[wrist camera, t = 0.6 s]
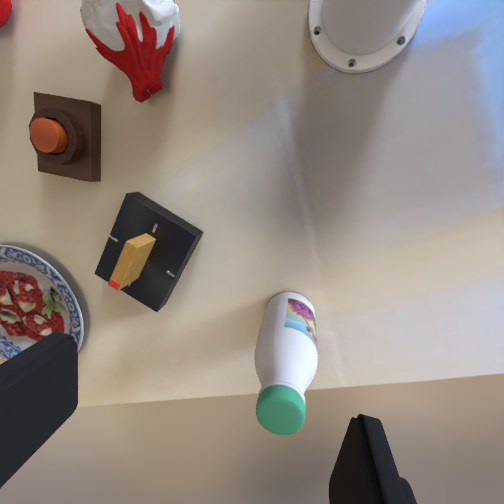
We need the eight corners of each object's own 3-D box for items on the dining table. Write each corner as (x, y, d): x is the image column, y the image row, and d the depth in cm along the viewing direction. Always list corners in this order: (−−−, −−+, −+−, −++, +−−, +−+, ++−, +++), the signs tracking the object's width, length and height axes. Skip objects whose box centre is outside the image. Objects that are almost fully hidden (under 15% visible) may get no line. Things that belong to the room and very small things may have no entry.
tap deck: (137, 191, 43) (125, 193, 40) (203, 232, 43) (196, 236, 40) (106, 267, 48) (93, 274, 45) (165, 304, 48) (156, 312, 45)
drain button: (39, 117, 39) (28, 115, 37) (68, 122, 38) (57, 120, 37) (41, 150, 40) (30, 149, 39) (68, 155, 40) (58, 155, 38)
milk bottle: (275, 338, 46) (256, 454, 27) (258, 297, 45) (226, 390, 26) (321, 327, 44) (334, 444, 25) (305, 284, 43) (306, 374, 24)
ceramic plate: (-6, 357, 59) (-22, 367, 56) (-44, 240, 52) (-63, 244, 49) (101, 370, 55) (90, 381, 52) (76, 243, 48) (62, 248, 45)
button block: (46, 95, 42) (21, 88, 38) (101, 105, 41) (80, 98, 37) (50, 171, 45) (26, 171, 41) (100, 181, 44) (81, 182, 40)
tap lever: (146, 232, 42) (125, 241, 37) (156, 239, 42) (136, 248, 37) (128, 272, 44) (106, 284, 39) (138, 278, 44) (117, 291, 39)
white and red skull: (176, -45, 34) (204, 95, 39) (96, -18, 36) (132, 110, 41) (137, -103, 25) (180, 85, 31) (36, -63, 28) (92, 105, 33)
